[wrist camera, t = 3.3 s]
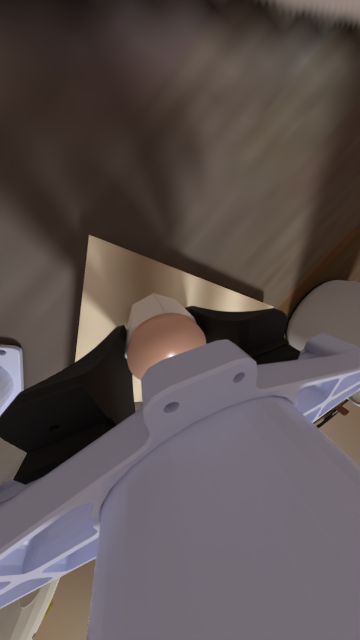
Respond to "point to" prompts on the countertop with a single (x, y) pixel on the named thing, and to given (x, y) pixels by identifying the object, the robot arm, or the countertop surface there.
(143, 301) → the brown egg in cup
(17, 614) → the white red spiked dome
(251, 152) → the countertop surface
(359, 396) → the skyscraper
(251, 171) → the countertop surface
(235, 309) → the board
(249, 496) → the robot arm
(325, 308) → the cylinder vase
